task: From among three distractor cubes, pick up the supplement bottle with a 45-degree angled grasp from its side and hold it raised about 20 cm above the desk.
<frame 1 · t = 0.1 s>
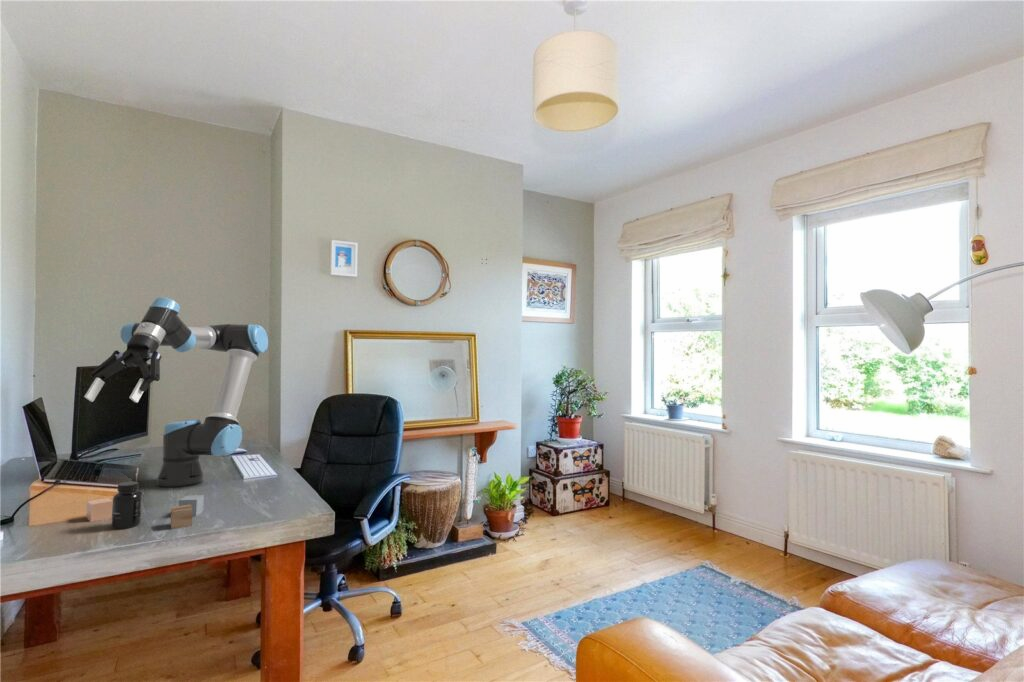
hand: (110, 399, 147), 36 cm above the table, tool tilted 35°, fingers open, 13 cm apart
slate grey cube: (191, 513, 159), on the table
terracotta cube: (99, 518, 153), on the table
supplement bottle: (126, 526, 147), on the table
walnut cube: (181, 525, 148), on the table
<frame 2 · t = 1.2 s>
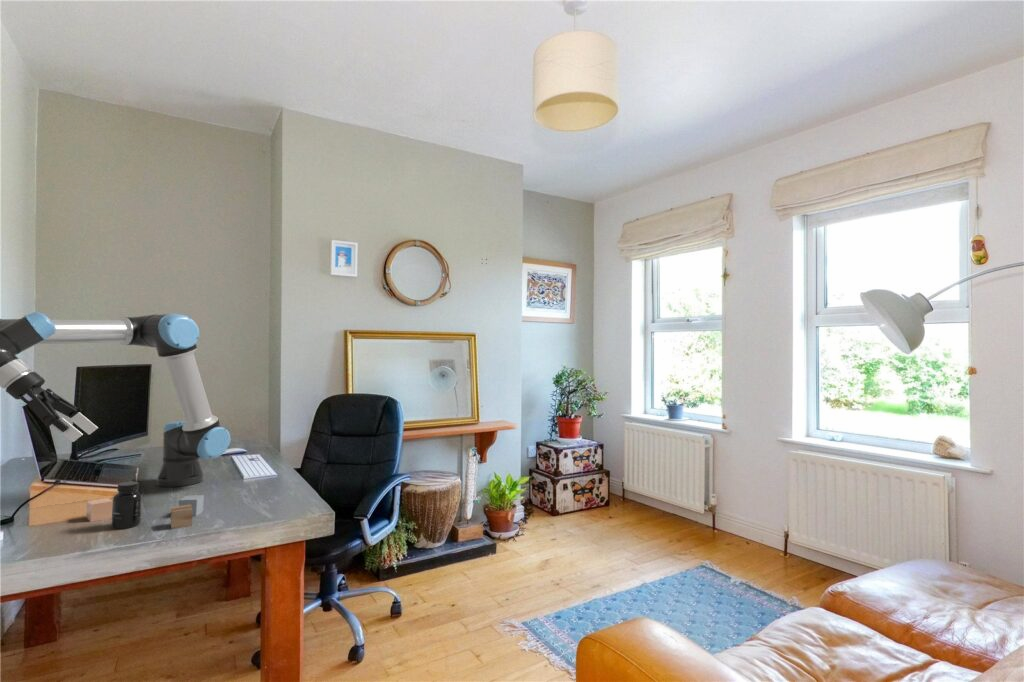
hand: (86, 434, 143), 26 cm above the table, tool tilted 45°, fingers open, 13 cm apart
nothing on the table moved.
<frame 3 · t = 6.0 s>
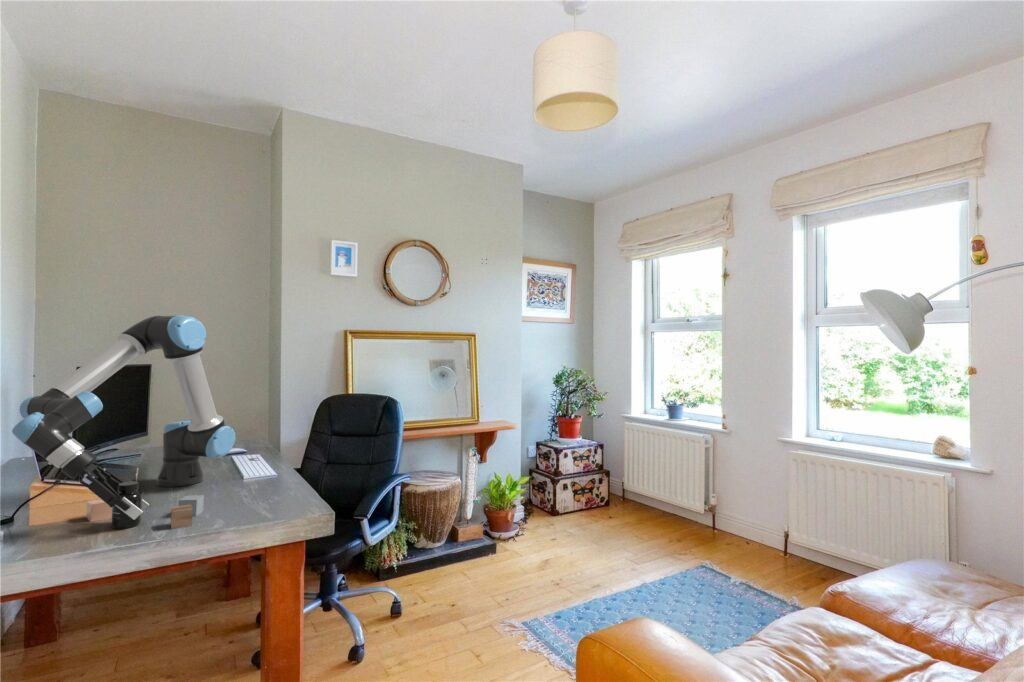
hand: (141, 511, 148), 3 cm above the table, tool tilted 45°, fingers closed on supplement bottle, 7 cm apart
supplement bottle: (126, 526, 147), on the table, touching gripper
everything else where it was.
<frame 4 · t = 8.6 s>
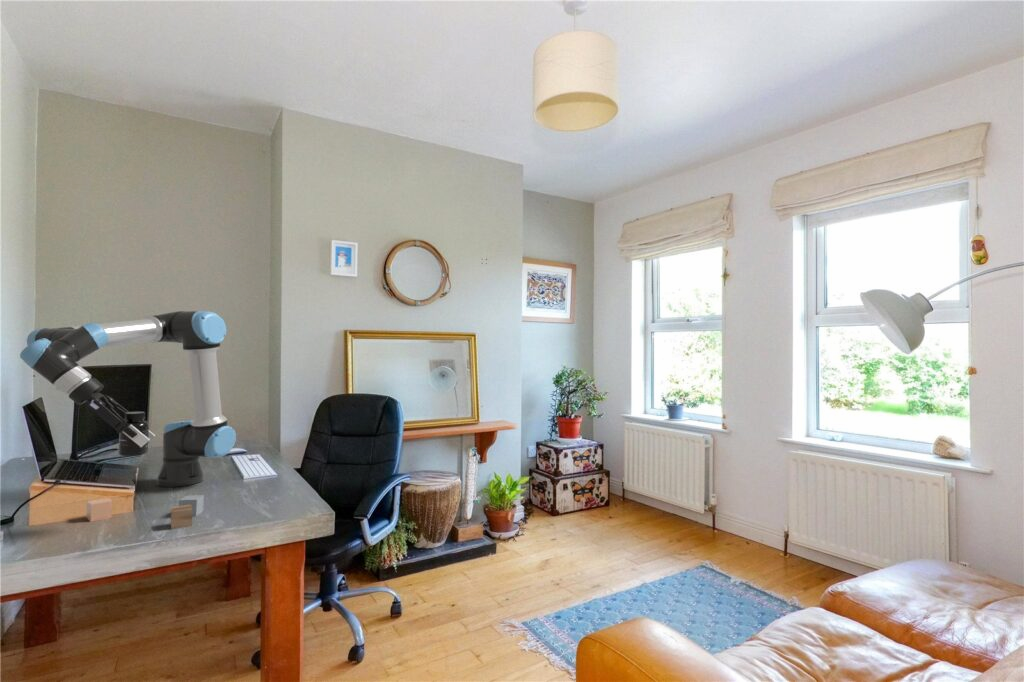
hand: (148, 441, 150), 24 cm above the table, tool tilted 45°, fingers closed on supplement bottle, 7 cm apart
supplement bottle: (133, 454, 148), point 20 cm above the table, touching gripper
everything else where it was.
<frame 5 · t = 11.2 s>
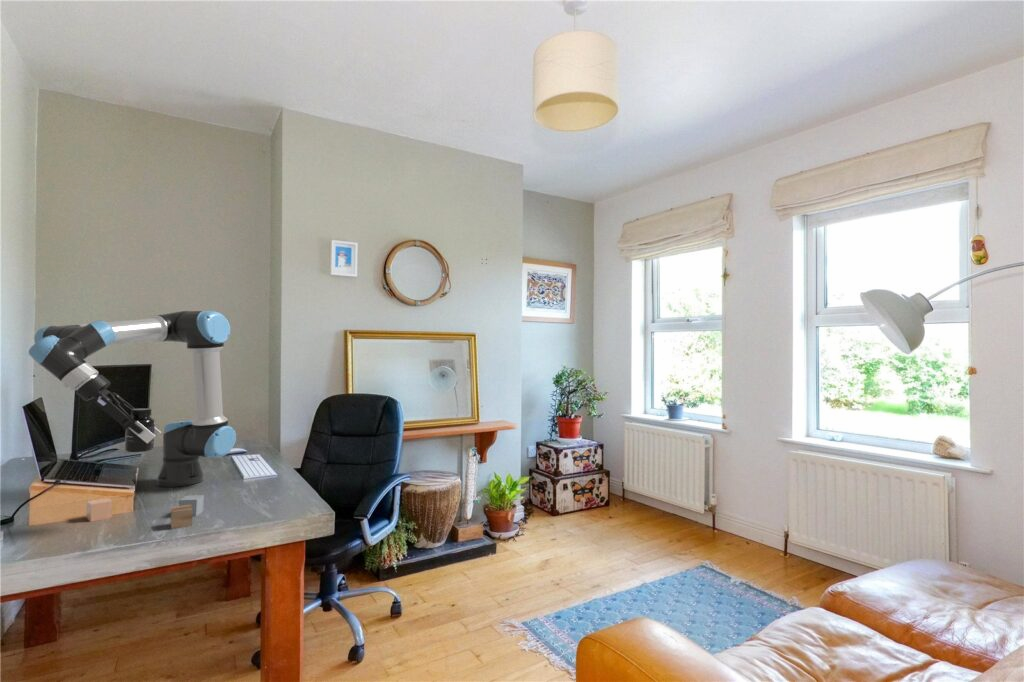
hand: (154, 437, 152), 24 cm above the table, tool tilted 45°, fingers closed on supplement bottle, 7 cm apart
supplement bottle: (139, 451, 150), point 21 cm above the table, touching gripper
everything else where it was.
at the end: the gripper is holding supplement bottle; supplement bottle point 20.7 cm above the table; walnut cube moved 0.1 cm from its start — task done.
